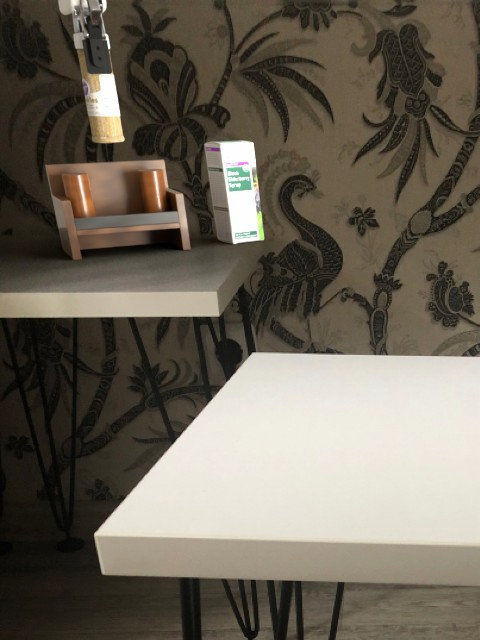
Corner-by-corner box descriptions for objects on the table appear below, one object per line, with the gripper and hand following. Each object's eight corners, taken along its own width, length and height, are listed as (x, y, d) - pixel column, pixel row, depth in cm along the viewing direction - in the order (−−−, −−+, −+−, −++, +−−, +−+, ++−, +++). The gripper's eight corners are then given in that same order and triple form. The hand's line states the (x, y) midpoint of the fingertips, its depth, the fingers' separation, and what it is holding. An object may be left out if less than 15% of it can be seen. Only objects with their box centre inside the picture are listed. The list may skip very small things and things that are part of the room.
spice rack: (73, 260, 134) (55, 170, 128) (62, 250, 142) (45, 165, 136) (191, 249, 141) (178, 164, 135) (174, 240, 149) (162, 159, 143)
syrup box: (233, 244, 145) (221, 142, 138) (216, 240, 149) (203, 141, 142) (265, 240, 148) (254, 140, 141) (247, 236, 152) (236, 139, 145)
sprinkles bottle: (85, 142, 131) (65, 32, 125) (112, 141, 134) (93, 33, 128) (106, 143, 129) (86, 31, 122) (132, 142, 132) (114, 32, 125)
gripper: (29, -82, 123) (59, 74, 132) (46, -101, 110) (78, 74, 119) (87, -78, 126) (113, 74, 135) (110, -96, 113) (137, 73, 122)
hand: (96, 72), depth 127 cm, fingers closed on sprinkles bottle, 4 cm apart
